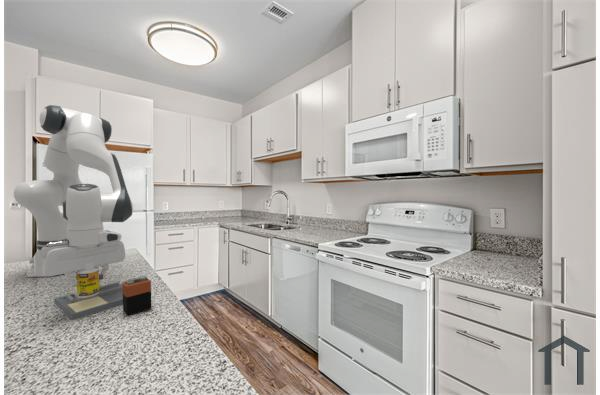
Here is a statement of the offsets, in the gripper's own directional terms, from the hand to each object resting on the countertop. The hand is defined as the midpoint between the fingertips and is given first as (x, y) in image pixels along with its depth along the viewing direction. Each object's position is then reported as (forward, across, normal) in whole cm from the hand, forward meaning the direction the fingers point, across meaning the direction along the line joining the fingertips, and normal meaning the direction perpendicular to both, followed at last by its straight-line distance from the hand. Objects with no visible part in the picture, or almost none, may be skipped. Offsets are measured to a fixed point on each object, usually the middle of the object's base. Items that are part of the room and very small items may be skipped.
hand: (88, 282), depth 86 cm
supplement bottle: (+4, 0, 0) cm, 4 cm away
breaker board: (+8, +4, +5) cm, 10 cm away
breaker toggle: (+7, +1, +7) cm, 10 cm away
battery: (+9, +9, -12) cm, 17 cm away
